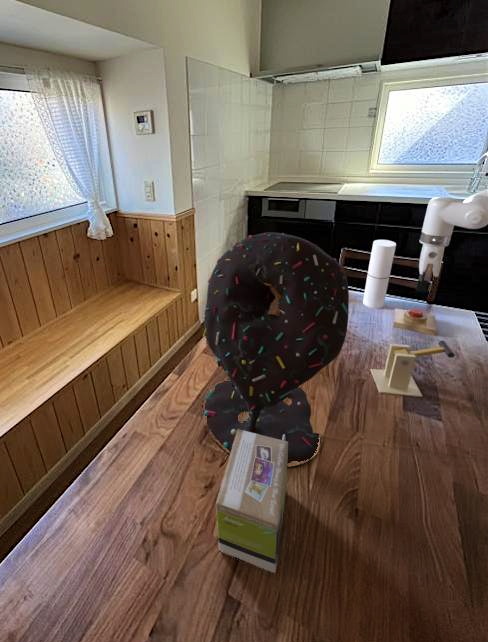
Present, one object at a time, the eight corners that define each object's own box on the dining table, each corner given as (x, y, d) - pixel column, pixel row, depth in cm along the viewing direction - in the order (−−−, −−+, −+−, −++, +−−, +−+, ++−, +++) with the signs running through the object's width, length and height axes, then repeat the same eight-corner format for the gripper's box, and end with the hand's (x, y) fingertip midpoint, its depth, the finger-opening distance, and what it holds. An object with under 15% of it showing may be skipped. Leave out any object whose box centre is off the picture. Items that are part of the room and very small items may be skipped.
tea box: (237, 475, 71) (237, 425, 65) (286, 491, 68) (291, 439, 62) (217, 554, 59) (214, 501, 52) (276, 578, 55) (280, 525, 49)
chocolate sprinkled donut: (325, 491, 67) (357, 293, 49) (179, 439, 80) (162, 267, 62) (334, 389, 92) (358, 231, 73) (221, 361, 105) (217, 222, 86)
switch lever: (445, 346, 86) (444, 338, 86) (455, 358, 82) (454, 350, 81) (393, 354, 90) (391, 347, 90) (399, 366, 86) (398, 359, 85)
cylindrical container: (365, 307, 128) (376, 246, 117) (360, 298, 134) (371, 239, 124) (385, 309, 126) (398, 246, 116) (380, 299, 132) (392, 239, 122)
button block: (433, 320, 117) (436, 311, 116) (435, 336, 110) (438, 325, 108) (393, 313, 123) (395, 303, 121) (392, 327, 115) (395, 317, 114)
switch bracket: (408, 375, 94) (417, 341, 89) (421, 399, 86) (432, 363, 82) (369, 372, 97) (376, 338, 92) (378, 395, 89) (387, 359, 84)
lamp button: (421, 313, 115) (422, 309, 115) (422, 318, 113) (423, 314, 112) (409, 311, 117) (410, 307, 116) (409, 316, 114) (410, 312, 114)
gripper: (452, 247, 96) (436, 303, 103) (447, 232, 107) (433, 283, 115) (421, 244, 99) (408, 298, 107) (419, 230, 111) (408, 279, 119)
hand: (421, 290), depth 111 cm, fingers closed
